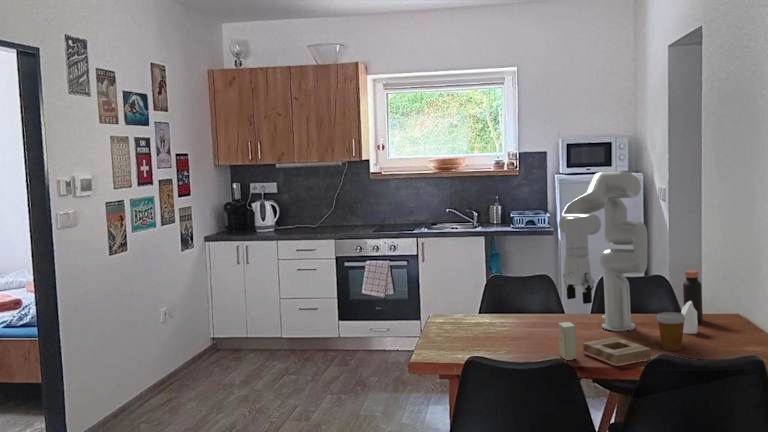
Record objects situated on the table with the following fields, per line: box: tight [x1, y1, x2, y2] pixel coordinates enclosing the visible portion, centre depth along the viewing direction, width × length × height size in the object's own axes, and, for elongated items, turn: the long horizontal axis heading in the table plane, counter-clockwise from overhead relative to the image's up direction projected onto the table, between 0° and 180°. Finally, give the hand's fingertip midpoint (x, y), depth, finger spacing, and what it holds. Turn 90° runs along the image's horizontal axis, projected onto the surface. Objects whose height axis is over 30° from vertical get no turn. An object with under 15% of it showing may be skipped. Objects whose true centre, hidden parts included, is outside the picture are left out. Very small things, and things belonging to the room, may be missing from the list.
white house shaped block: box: [680, 301, 699, 335], centre depth 272 cm, size 6×12×6 cm
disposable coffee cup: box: [656, 311, 685, 352], centre depth 253 cm, size 10×10×12 cm
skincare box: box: [557, 321, 577, 357], centre depth 250 cm, size 6×4×12 cm
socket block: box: [582, 336, 652, 364], centre depth 248 cm, size 18×14×4 cm
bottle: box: [682, 269, 704, 323], centre depth 287 cm, size 7×7×20 cm
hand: (579, 300), depth 250 cm, fingers open, 9 cm apart
